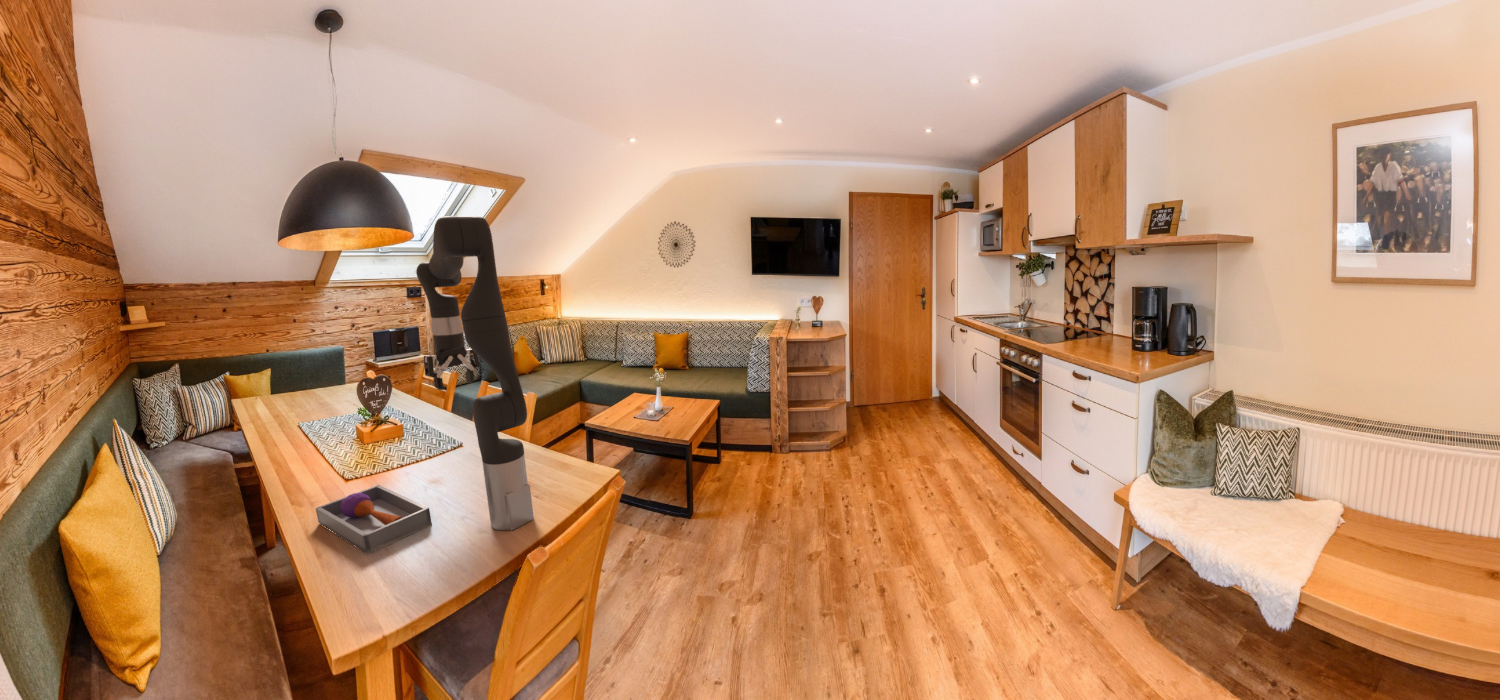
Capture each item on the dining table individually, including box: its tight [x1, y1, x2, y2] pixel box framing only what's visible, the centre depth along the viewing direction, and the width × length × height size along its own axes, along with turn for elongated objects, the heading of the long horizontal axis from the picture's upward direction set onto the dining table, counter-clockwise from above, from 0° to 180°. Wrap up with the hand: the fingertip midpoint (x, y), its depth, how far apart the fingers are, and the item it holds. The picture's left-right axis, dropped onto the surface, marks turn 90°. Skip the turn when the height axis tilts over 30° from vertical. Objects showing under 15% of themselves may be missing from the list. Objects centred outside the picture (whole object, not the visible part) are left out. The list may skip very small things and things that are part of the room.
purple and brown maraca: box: [341, 492, 403, 525], centre depth 117 cm, size 6×6×20 cm
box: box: [315, 484, 432, 555], centre depth 118 cm, size 26×14×4 cm, turn 61°
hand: (455, 386), depth 139 cm, fingers open, 8 cm apart
